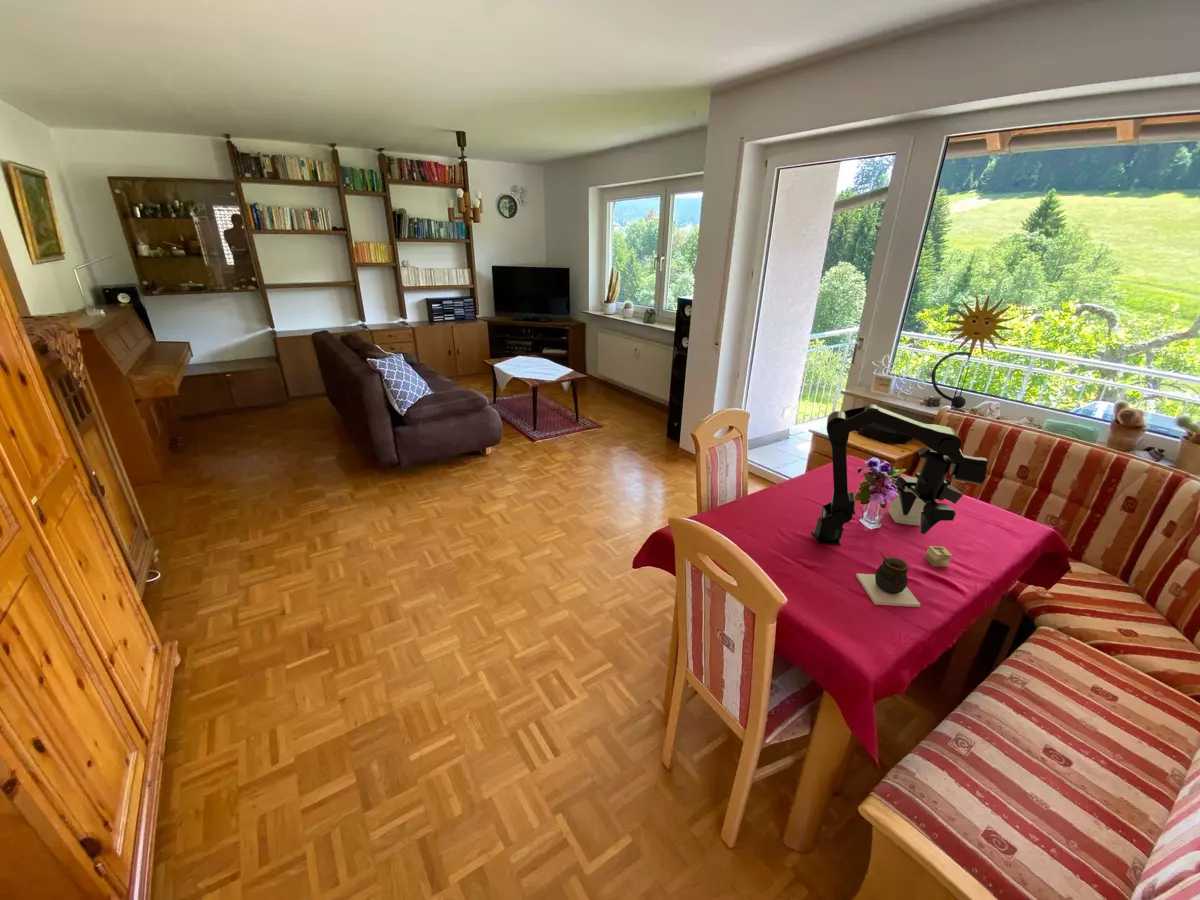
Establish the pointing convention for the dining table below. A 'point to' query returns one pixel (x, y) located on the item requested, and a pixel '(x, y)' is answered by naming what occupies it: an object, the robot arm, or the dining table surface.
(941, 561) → the letter cube
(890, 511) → the supplement box
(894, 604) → the cream square tile
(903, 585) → the mate gourd
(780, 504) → the dining table surface
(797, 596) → the dining table surface
